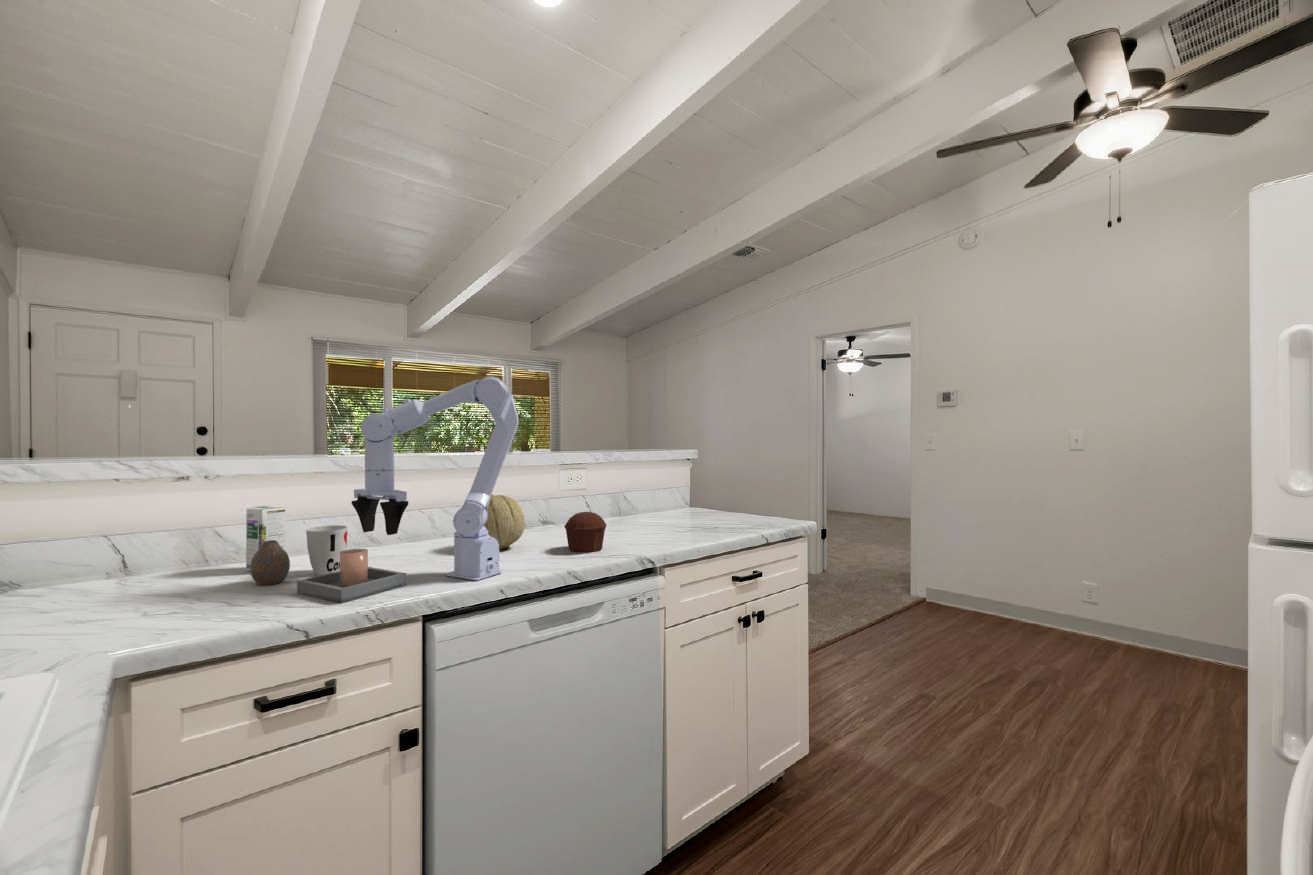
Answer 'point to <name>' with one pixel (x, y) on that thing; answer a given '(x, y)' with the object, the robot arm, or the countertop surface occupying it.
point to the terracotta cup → (353, 567)
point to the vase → (270, 564)
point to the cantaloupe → (504, 520)
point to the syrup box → (264, 528)
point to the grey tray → (331, 589)
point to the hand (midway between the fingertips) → (380, 532)
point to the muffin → (585, 532)
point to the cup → (326, 547)
